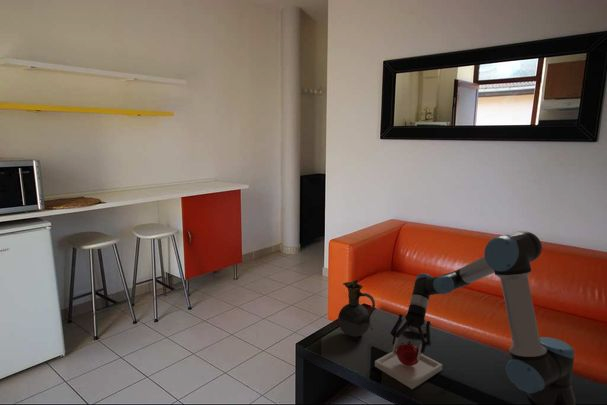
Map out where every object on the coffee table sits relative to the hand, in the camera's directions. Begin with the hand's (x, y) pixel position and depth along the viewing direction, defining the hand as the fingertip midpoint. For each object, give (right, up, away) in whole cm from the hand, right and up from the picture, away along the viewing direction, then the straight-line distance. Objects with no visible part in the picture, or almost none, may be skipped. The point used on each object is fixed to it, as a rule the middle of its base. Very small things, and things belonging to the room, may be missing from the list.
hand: (405, 356), depth 163 cm
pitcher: (-16, -3, +30) cm, 34 cm away
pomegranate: (+2, -4, +3) cm, 5 cm away
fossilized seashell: (+14, -1, +33) cm, 36 cm away
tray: (+2, -6, +4) cm, 8 cm away
